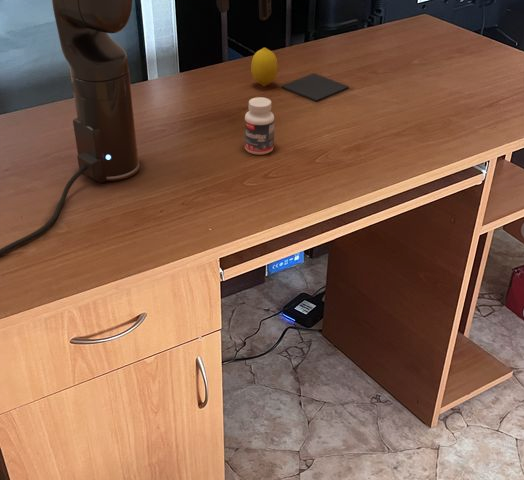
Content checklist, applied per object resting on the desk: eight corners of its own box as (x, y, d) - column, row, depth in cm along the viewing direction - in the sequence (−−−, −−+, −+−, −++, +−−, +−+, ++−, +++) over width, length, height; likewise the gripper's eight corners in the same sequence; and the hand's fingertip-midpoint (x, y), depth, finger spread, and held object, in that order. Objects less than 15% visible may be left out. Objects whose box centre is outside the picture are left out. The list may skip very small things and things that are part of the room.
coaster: (316, 101, 159) (316, 99, 159) (281, 87, 164) (281, 85, 164) (348, 88, 164) (348, 86, 164) (313, 75, 170) (313, 73, 170)
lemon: (267, 93, 162) (267, 54, 157) (245, 87, 165) (245, 48, 159) (282, 85, 165) (283, 46, 160) (261, 79, 168) (262, 41, 163)
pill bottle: (240, 152, 142) (240, 105, 136) (250, 140, 146) (250, 93, 140) (268, 157, 140) (268, 109, 135) (277, 145, 144) (278, 98, 138)
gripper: (190, -86, 129) (199, 15, 140) (263, -76, 123) (267, 28, 134) (215, -96, 134) (222, 2, 145) (287, -88, 128) (289, 14, 139)
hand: (244, 15), depth 140 cm, fingers open, 8 cm apart
